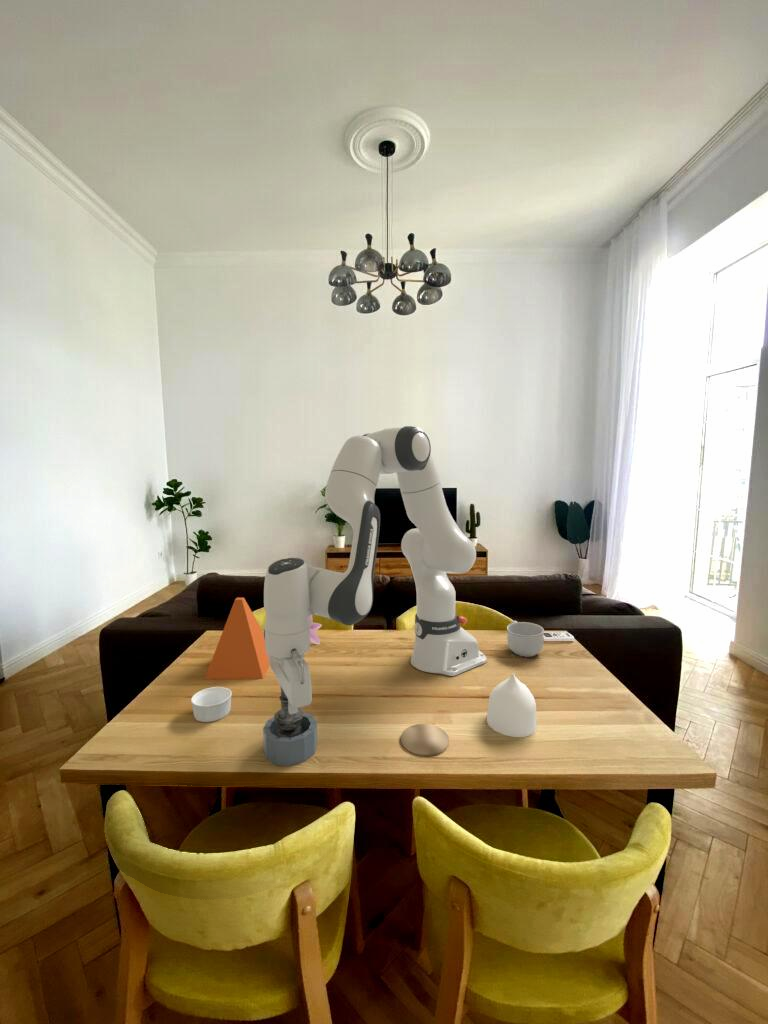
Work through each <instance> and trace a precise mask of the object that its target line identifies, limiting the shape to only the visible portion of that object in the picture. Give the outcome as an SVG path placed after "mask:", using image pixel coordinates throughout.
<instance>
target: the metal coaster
mask: <svg viewBox="0 0 768 1024" xmlns="http://www.w3.org/2000/svg"><path fill="white" fill-rule="evenodd" d="M400 742H401V744H402V747H404V749H405V750H407V751H409V752H410V753H412V754H415V755H416V756H417V755H418V756H421V757H431V756H437V755H440V754H442V753H444V752H445V751H446V750H447V749H448V747H449V745H450V739H449V735H448V734H447V732H446V731H445V730H444V729H442V728H441V727H439V726H436V725H433V724H428V723H418V724H413V725H410V726H408V727H406V728H405V729H404V730H403V731H402V733H401V735H400Z"/></svg>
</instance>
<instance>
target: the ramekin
mask: <svg viewBox="0 0 768 1024" xmlns="http://www.w3.org/2000/svg"><path fill="white" fill-rule="evenodd" d="M232 693H233V692H232V690H231V689H230V688H227V687H223V686H214V687H212V686H211V687H208V688H204V689H202V690H199V691H198V692H196V693H194V694H193V695H192V697H191V699H190V702H191V705H192V713H193V718H194V719H195V720H196V721H198V722H202V723H210V722H216V721H219V720H221V719H223V718H224V717H226V716H227V715H228V714H229V713H230V711H231V707H232V706H231V704H232V703H231V701H232V697H233V695H232Z"/></svg>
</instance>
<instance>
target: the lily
mask: <svg viewBox="0 0 768 1024" xmlns="http://www.w3.org/2000/svg"><path fill="white" fill-rule="evenodd" d="M313 620H314V619H313V615H311V616H310V617H309V621H310V643H313V644H315V645H321V641H320V638H319V636H318V634H317V630H319V629H320V628H321V627H322V626H323V624H321V623H318V622H313Z"/></svg>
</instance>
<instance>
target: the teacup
mask: <svg viewBox="0 0 768 1024" xmlns="http://www.w3.org/2000/svg"><path fill="white" fill-rule="evenodd" d="M544 632H545V629H544V628H543V627H542V626H541V625H539V624H536V623H533V622H529V621H528V622H526V621H522V622H521V621H519V622H518V621H517V620H511V622H510V623H509V624H508V625H507V626H506V636H507V638H506V639H507V646H508V648H509V649H510V651H512V652H513V653H514V654H515V655H518V656H520V657H523V656H524V658H525V657H526V658H529V657H530V658H531V657H535V656H536V655H537V654H539V653H541V651H542V650H543V647H544Z"/></svg>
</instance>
